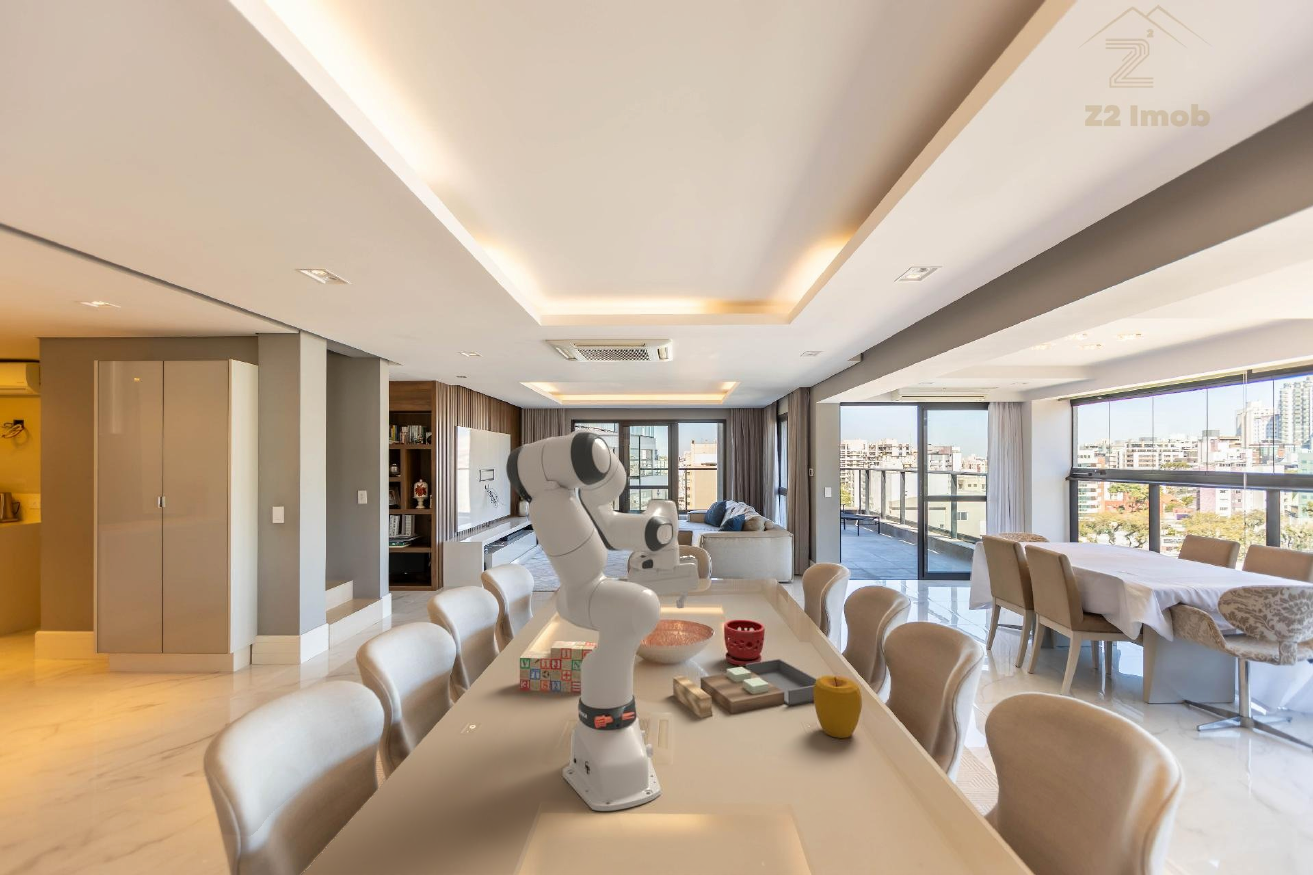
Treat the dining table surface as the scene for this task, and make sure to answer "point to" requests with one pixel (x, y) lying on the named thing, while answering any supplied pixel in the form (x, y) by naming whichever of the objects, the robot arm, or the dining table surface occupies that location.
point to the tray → (786, 680)
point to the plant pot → (743, 641)
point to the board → (739, 694)
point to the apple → (837, 705)
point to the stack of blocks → (554, 667)
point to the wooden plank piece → (692, 696)
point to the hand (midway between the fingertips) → (664, 610)
